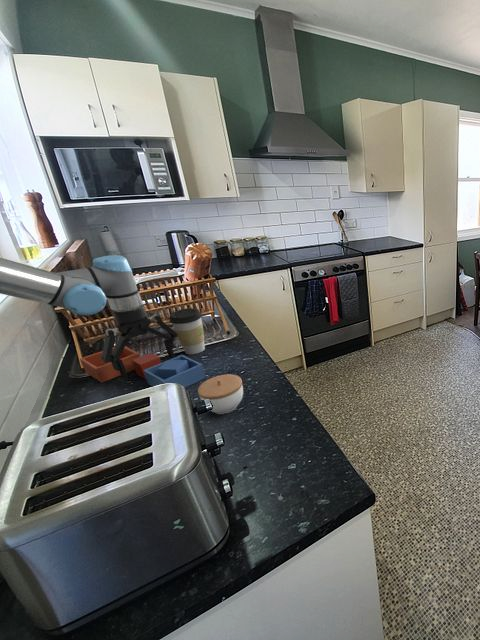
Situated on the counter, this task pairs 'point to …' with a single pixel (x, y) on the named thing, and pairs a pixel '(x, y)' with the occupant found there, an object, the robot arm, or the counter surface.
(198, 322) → the coffee cup
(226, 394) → the trinket box
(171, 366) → the blue block
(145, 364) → the rust block
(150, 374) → the blue bin
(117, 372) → the rust bin
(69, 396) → the counter surface
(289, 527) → the counter surface
